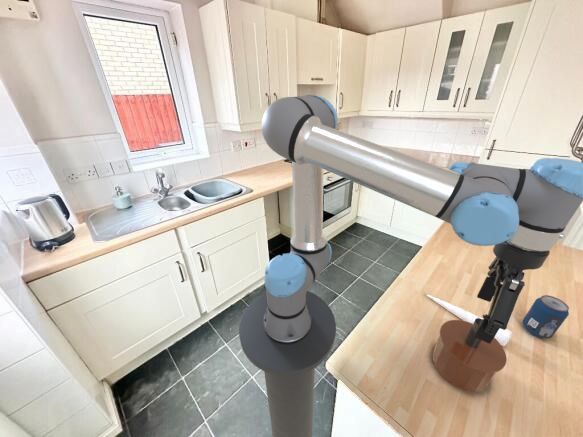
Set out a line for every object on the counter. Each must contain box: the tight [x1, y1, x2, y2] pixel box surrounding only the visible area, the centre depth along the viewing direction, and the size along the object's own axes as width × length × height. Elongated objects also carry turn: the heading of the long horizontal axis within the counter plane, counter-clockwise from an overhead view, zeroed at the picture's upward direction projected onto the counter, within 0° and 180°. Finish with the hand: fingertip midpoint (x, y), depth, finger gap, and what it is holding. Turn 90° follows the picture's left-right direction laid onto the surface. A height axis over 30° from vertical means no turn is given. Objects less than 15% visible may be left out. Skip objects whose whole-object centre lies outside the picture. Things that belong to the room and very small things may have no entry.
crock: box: [432, 335, 497, 393], centre depth 63 cm, size 13×13×10 cm
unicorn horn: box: [426, 294, 513, 347], centre depth 78 cm, size 5×24×5 cm, turn 32°
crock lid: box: [439, 318, 508, 374], centre depth 59 cm, size 14×14×9 cm
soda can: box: [521, 294, 570, 340], centre depth 71 cm, size 7×7×12 cm
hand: (482, 317), depth 56 cm, fingers open, 13 cm apart
